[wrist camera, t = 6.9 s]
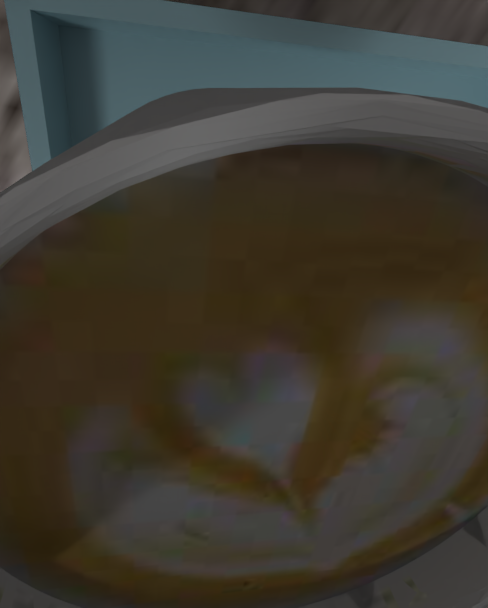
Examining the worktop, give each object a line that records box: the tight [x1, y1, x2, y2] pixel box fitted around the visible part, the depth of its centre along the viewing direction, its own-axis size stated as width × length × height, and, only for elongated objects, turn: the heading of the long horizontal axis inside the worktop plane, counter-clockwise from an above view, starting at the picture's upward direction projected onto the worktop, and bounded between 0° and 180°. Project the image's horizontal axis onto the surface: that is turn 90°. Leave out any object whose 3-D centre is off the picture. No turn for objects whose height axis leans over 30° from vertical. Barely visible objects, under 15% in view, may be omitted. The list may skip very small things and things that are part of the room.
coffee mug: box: [0, 88, 488, 608], centre depth 10 cm, size 13×10×10 cm
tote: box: [4, 0, 488, 171], centre depth 27 cm, size 32×20×6 cm, turn 85°
